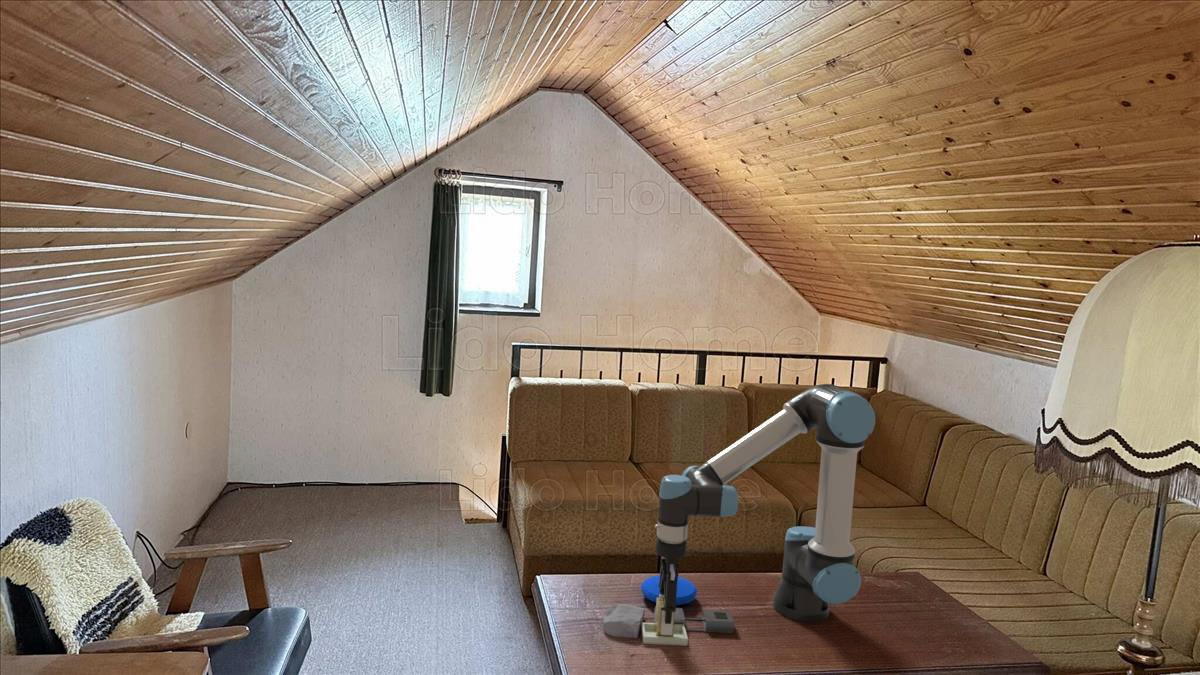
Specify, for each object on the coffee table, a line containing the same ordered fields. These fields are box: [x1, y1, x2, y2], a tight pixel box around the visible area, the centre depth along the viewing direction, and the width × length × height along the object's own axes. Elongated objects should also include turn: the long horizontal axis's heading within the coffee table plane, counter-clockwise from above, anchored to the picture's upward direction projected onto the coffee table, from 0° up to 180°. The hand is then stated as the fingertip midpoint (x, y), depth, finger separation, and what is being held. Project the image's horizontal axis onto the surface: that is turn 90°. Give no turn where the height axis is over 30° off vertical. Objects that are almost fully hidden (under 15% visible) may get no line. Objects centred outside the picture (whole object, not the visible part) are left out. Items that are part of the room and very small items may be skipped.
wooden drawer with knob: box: [654, 597, 675, 637], centre depth 181 cm, size 4×4×9 cm
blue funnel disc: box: [640, 574, 698, 606], centre depth 202 cm, size 16×16×7 cm
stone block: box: [602, 603, 646, 639], centre depth 186 cm, size 12×5×10 cm
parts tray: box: [640, 621, 689, 647], centre depth 182 cm, size 11×7×2 cm, turn 92°
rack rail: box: [653, 606, 735, 634], centre depth 189 cm, size 20×6×3 cm, turn 92°
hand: (664, 626), depth 181 cm, fingers open, 6 cm apart
